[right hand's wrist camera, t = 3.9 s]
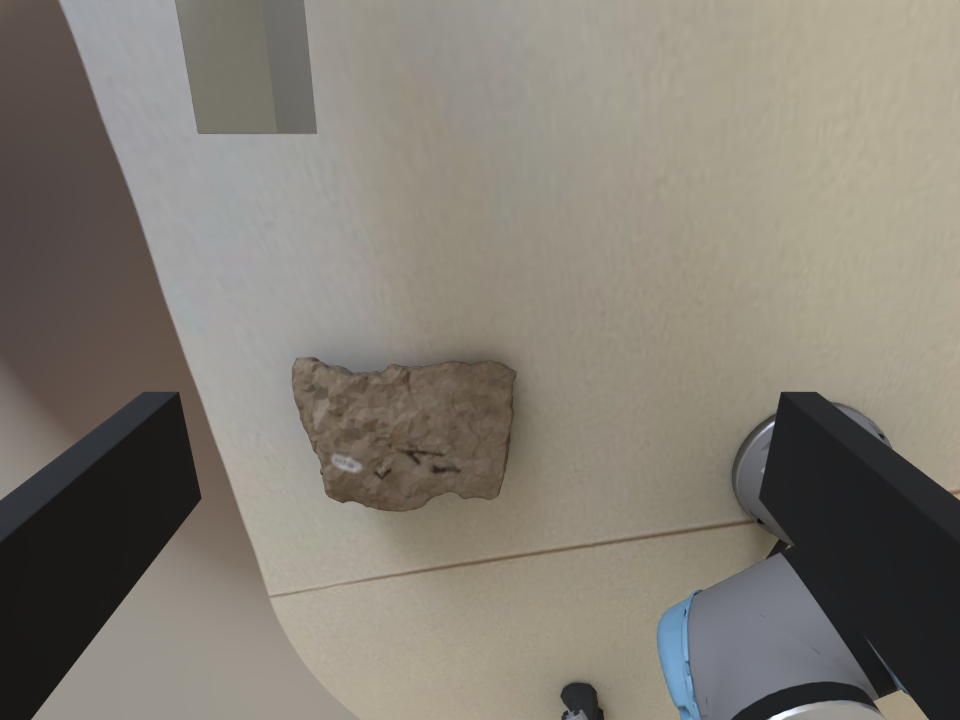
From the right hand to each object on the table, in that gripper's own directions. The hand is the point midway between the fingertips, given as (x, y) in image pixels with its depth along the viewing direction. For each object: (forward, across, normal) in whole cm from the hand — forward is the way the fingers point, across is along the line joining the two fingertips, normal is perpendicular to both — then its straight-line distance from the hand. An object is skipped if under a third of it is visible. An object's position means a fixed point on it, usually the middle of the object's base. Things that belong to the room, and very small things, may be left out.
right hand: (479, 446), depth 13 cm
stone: (+40, +7, +20) cm, 46 cm away
